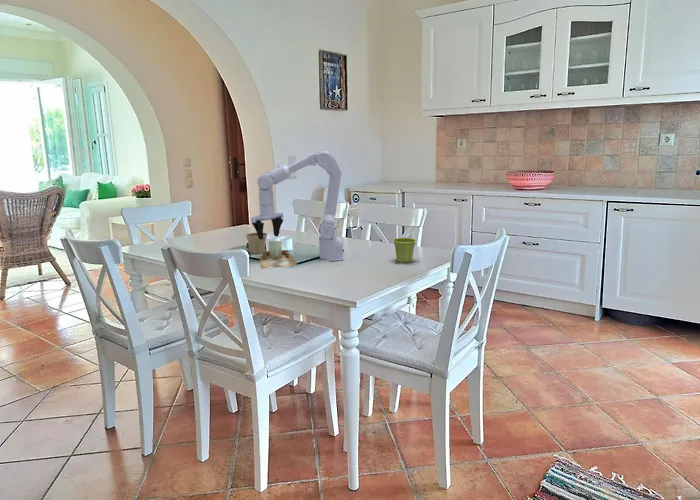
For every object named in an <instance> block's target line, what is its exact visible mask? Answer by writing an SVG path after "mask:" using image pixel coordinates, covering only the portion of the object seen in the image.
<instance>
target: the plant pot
mask: <svg viewBox="0 0 700 500" xmlns="http://www.w3.org/2000/svg"><path fill="white" fill-rule="evenodd" d="M392 242H393V244H394V249H395V256H396V261H397V262H398V263H404V264H405V263H411V262H412V261H413V255H414V251H415V250H414V249H415V246H416V242H417V239H416V238H412V237H397V238H394V239H392Z"/></svg>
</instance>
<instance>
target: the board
mask: <svg viewBox="0 0 700 500" xmlns="http://www.w3.org/2000/svg"><path fill="white" fill-rule="evenodd" d="M258 260H259V264H260V269H261V270H262V269H273V268H288V267H298V263H297V262H296V260H295V257H294V256H293V253H292V252H291V253H289V251H288V249H282V257H281V258H277V259H273V258H270V254H269V250H265V251H263V253H262V254H261V255H260V254H259V255H258Z"/></svg>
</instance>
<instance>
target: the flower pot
mask: <svg viewBox="0 0 700 500" xmlns="http://www.w3.org/2000/svg"><path fill="white" fill-rule="evenodd" d="M245 237H246V239H247V243H248V244H247V245H248V248H249V252H250V254H254V255H258V254H259V255H260V254H263V251H266V244H267V243H266V242H267V241H266V240H267V238H268V233H266V232H263V239H259V238H258V234H257V232H249V233H246V234H245Z"/></svg>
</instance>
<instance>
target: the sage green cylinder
mask: <svg viewBox="0 0 700 500" xmlns="http://www.w3.org/2000/svg"><path fill="white" fill-rule="evenodd" d="M282 250H283V246H282V241H281V240H271V241H270V240H269V242H268V251H269V254H270V258H273V259H277V258H281V257H282Z"/></svg>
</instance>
